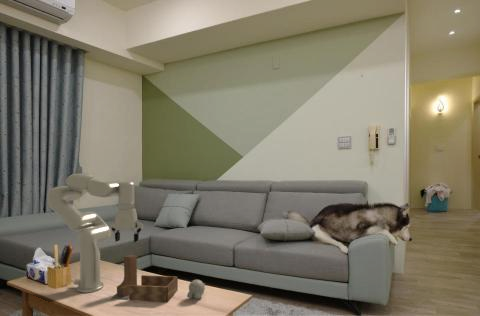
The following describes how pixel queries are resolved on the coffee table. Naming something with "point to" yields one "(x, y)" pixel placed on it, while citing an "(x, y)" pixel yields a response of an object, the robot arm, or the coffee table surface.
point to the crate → (154, 289)
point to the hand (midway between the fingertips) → (126, 241)
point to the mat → (120, 297)
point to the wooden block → (128, 275)
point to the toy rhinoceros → (196, 289)
